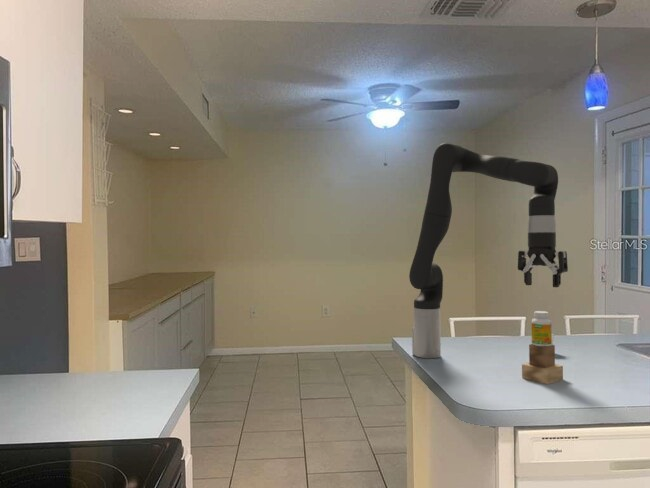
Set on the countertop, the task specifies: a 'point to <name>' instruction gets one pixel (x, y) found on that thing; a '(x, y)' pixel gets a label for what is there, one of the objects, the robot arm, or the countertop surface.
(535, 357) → the walnut block
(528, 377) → the oak pedestal
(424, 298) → the robot arm
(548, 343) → the supplement bottle
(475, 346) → the countertop surface
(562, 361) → the countertop surface
